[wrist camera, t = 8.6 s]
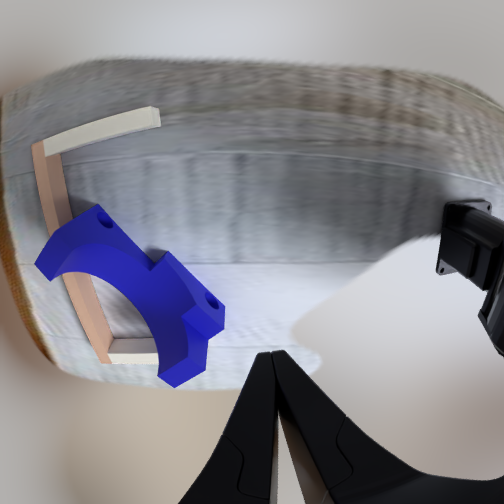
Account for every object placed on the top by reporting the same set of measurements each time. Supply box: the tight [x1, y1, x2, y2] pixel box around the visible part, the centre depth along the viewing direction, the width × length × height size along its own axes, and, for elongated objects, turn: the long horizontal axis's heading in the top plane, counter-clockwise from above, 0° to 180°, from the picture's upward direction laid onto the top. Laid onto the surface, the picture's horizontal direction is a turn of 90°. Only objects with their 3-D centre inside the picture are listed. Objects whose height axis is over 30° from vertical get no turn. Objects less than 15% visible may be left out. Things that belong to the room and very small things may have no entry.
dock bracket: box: [31, 106, 161, 364], centre depth 18 cm, size 9×18×2 cm, turn 6°
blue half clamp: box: [34, 204, 225, 388], centre depth 17 cm, size 12×4×6 cm, turn 39°
